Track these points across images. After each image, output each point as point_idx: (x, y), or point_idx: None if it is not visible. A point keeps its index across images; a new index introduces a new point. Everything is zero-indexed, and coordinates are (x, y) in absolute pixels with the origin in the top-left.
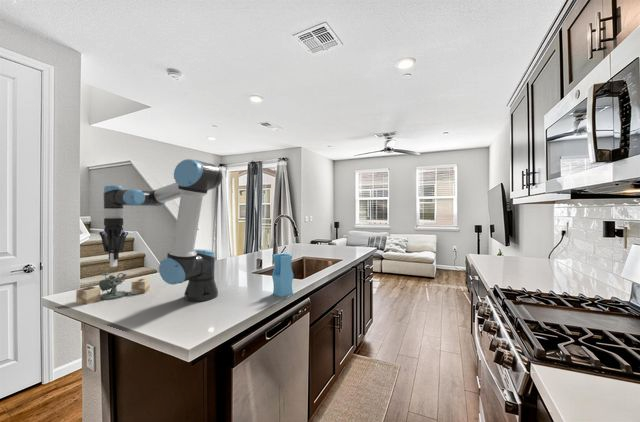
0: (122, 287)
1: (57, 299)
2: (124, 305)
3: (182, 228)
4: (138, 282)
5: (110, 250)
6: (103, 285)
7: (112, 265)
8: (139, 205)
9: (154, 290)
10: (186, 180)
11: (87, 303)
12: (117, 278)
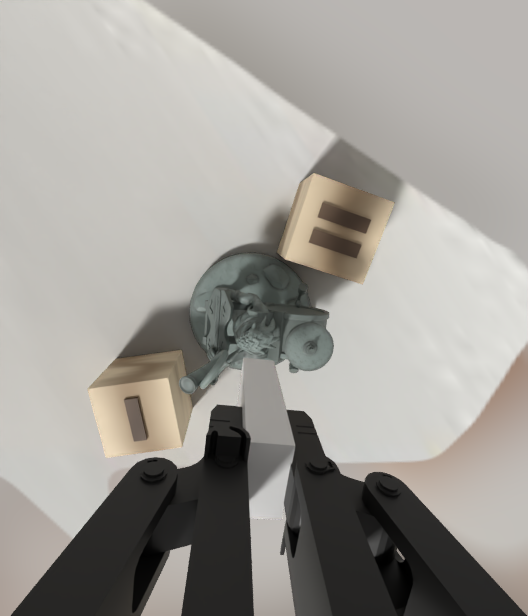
0: None
1: (491, 268)
2: (85, 156)
3: None
4: (127, 382)
5: (300, 486)
6: (300, 311)
7: (247, 363)
8: None
9: None
10: None
11: (298, 187)
12: (232, 354)
